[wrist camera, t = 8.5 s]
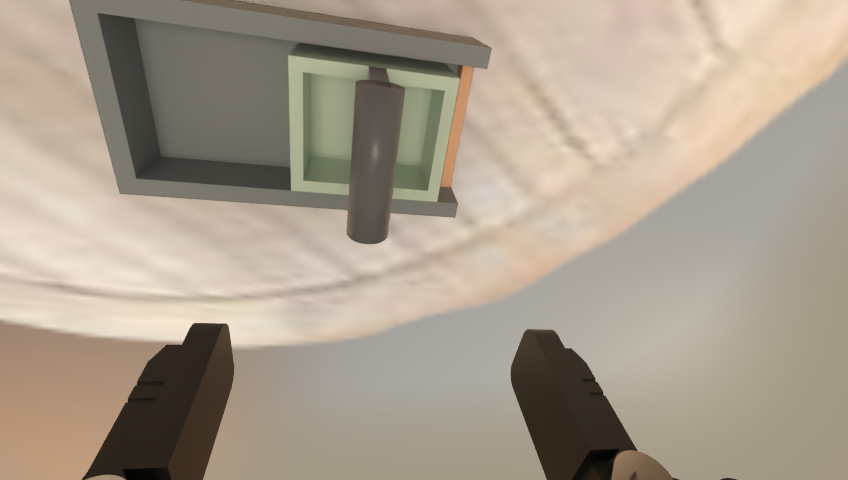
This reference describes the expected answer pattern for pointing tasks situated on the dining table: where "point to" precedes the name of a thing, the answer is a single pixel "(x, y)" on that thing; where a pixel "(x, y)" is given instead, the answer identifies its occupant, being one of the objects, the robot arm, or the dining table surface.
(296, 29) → the bay
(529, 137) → the dining table surface
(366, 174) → the box
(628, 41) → the dining table surface
